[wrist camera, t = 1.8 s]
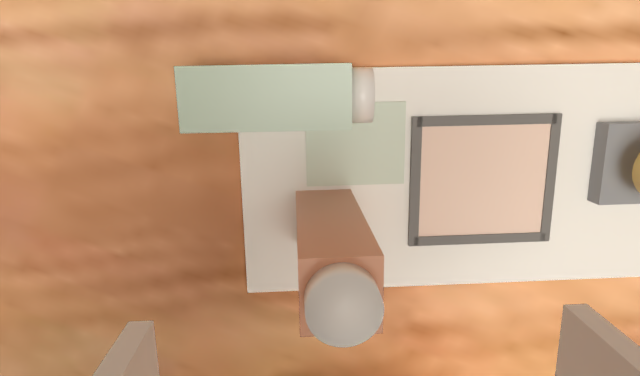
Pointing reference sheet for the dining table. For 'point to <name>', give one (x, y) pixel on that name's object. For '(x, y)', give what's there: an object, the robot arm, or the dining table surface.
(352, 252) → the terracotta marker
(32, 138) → the dining table surface
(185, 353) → the dining table surface
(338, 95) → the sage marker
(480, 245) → the white flat panel
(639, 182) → the button
